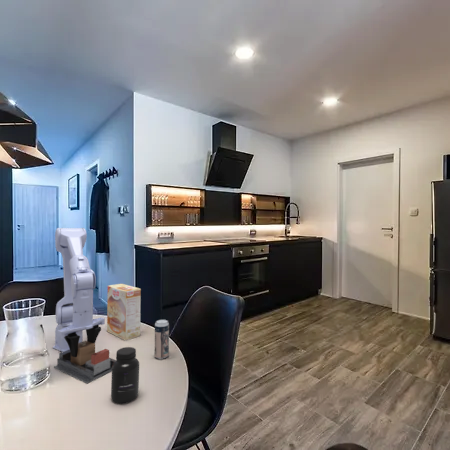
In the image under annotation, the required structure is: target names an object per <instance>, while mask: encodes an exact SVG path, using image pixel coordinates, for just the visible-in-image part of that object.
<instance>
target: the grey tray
mask: <svg viewBox="0 0 450 450" xmlns="http://www.w3.org/2000/svg"><path fill="white" fill-rule="evenodd" d="M56 359H57V360H56V361H57V364H56V365H55V366H54V367H53V368H54V369H55V370H58V371H59V372H62V373H64V374H66V375H68V376H70V377H73V379H74V378H75V379H76V380H78V381H80V382H83V383H85V384H90V383H92V382H93V381H96V380H97V379H99V378H101V377H103V376H105V375H107V374H110V373H112V365H113V363H114V362H115V361H116V359H113V358H112V357H110V368H108V369H106V370H104V371H102V372H100V373H98V374H96V375H94V372H93V371H91V370H89V369H86V364H83V365H81V366H79V365H77V364H75V363H72V362H71V352H70V349H69V350H67V351H64V352H62V351H60V352H59V353H58V358H56Z"/></svg>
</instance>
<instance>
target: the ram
mask: <svg viewBox="0 0 450 450" xmlns="http://www.w3.org/2000/svg"><path fill="white" fill-rule="evenodd" d="M110 358H111V357H110V349H107V348H104V349H102V350H99V351H97V352H95V353H94V354H92V355H91V360H89V361H87V362H86V369H89V370H91V371H93V372H94V375H96V374H98V373H100V372H102V371H104V370H106V369H108V368H110Z"/></svg>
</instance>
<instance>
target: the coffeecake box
mask: <svg viewBox="0 0 450 450" xmlns="http://www.w3.org/2000/svg"><path fill="white" fill-rule="evenodd" d="M141 291H142V289H141V288H139V287H136V286H132V285H129V284H126V283H125V284H124V283H116V284H110V285H107V294H106V295H107V298H106V299H107V300H106V301H107V305H106V306H107V307H106V308H107V310H106V312H107V314H106V316H107V317H106V319H107V320H106V323H107V324H106V332H108V333H110V334H112V335H114V336H115V337H117V338H120V339H122V340H123V341H129V340H131V339H134V338H138V337H141V301H142V299H141V297H142V296H141V295H142V294H141Z"/></svg>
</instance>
